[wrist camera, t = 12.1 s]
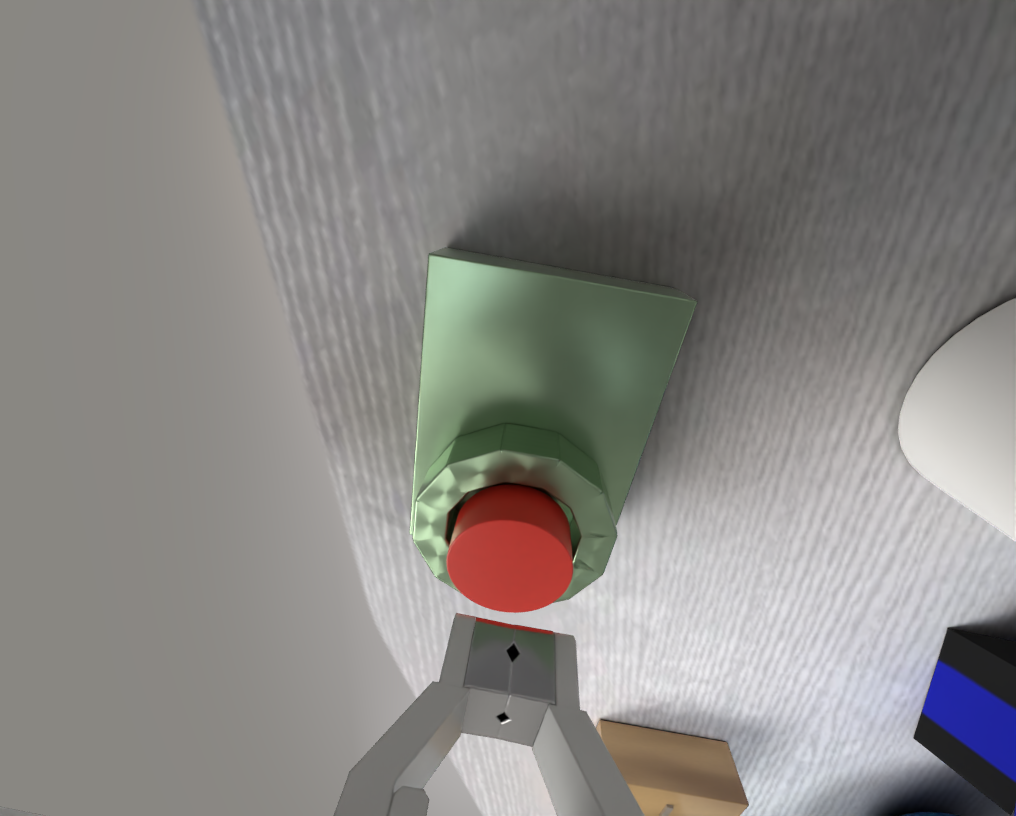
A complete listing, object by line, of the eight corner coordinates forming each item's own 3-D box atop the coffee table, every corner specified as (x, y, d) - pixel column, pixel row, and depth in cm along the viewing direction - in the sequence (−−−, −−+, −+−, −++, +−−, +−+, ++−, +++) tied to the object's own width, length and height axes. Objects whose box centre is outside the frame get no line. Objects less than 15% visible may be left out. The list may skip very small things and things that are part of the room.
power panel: (590, 717, 25) (596, 782, 22) (737, 743, 25) (761, 811, 22) (550, 805, 30) (551, 867, 28) (671, 827, 30) (685, 890, 28)
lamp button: (462, 474, 13) (452, 509, 12) (582, 495, 13) (587, 533, 12) (451, 561, 15) (440, 601, 14) (556, 580, 15) (558, 622, 14)
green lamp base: (444, 246, 14) (409, 259, 10) (676, 288, 14) (723, 315, 10) (421, 516, 19) (394, 587, 16) (589, 546, 19) (600, 623, 16)
